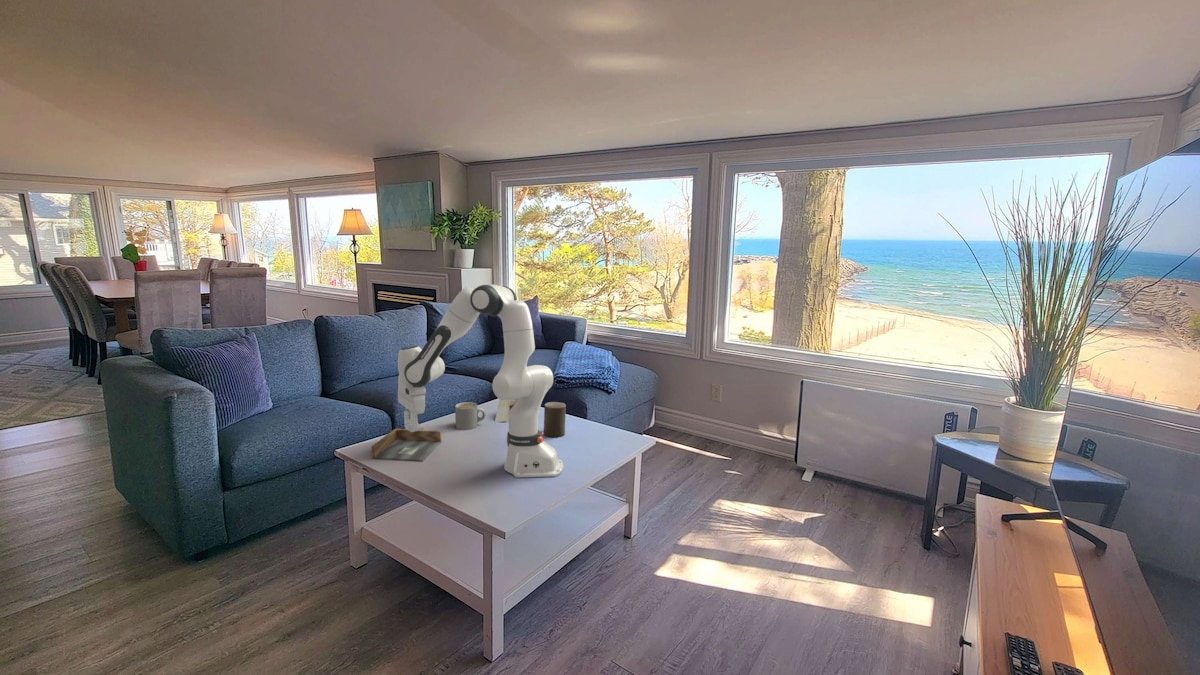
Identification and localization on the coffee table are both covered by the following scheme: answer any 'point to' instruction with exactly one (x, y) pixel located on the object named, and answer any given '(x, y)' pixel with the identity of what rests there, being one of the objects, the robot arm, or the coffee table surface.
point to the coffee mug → (467, 415)
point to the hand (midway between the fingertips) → (411, 418)
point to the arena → (406, 445)
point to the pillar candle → (554, 419)
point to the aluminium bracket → (411, 422)
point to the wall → (504, 410)
